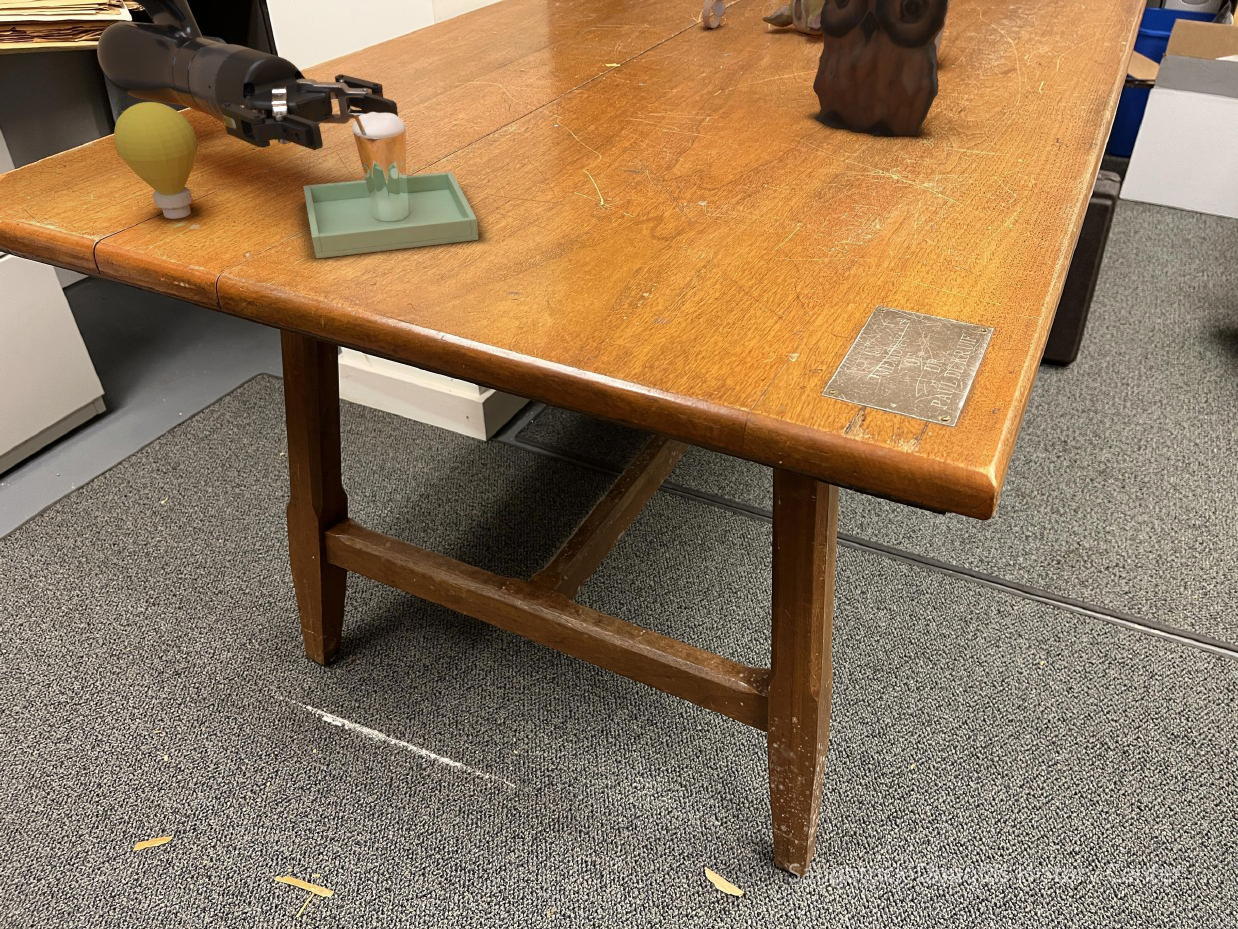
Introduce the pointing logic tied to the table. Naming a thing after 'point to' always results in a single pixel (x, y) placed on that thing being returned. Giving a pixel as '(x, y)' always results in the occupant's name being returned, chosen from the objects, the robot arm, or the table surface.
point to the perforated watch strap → (717, 10)
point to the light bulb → (159, 153)
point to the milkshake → (383, 163)
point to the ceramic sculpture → (799, 16)
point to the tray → (352, 228)
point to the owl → (878, 64)
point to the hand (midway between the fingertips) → (358, 125)
